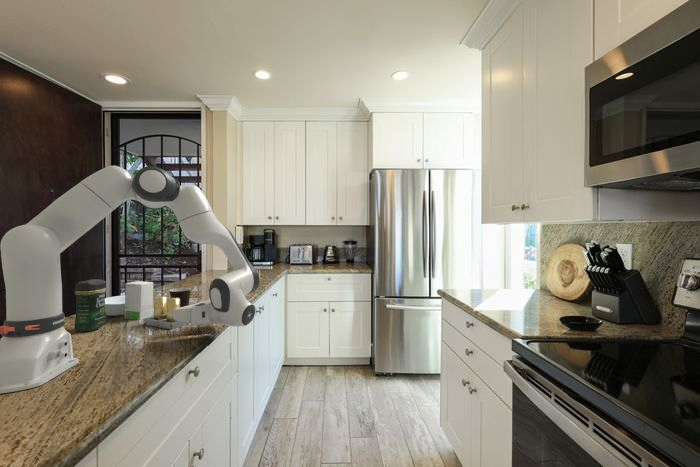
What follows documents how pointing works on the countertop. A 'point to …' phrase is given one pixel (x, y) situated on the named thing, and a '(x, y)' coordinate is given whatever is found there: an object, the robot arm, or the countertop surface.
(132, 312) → the skincare box
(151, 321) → the grey tray
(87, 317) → the coffee jar
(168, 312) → the billet
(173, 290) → the coffee mug
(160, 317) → the billet
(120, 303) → the serving bowl
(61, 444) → the countertop surface
